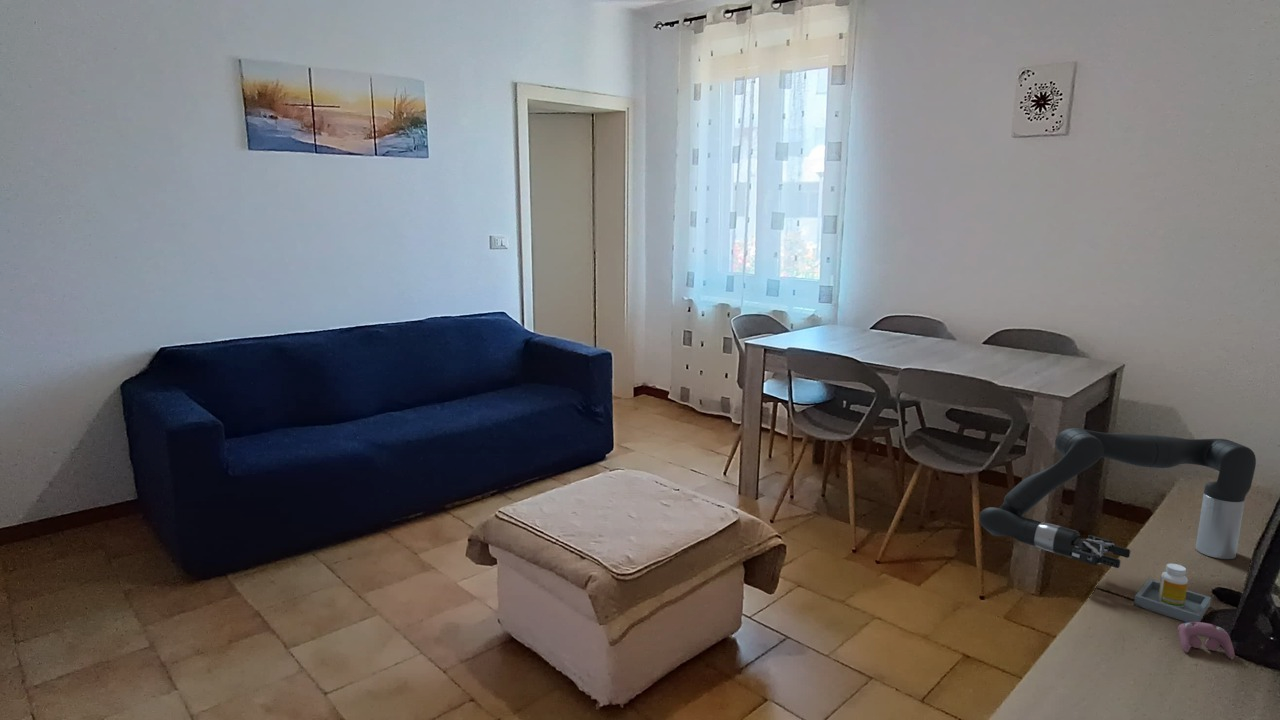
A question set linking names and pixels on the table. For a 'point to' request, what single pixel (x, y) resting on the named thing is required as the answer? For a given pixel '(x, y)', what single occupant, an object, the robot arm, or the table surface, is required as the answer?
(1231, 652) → the video game controller
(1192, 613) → the tray
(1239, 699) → the table surface
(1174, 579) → the supplement bottle
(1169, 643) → the table surface
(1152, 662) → the table surface
